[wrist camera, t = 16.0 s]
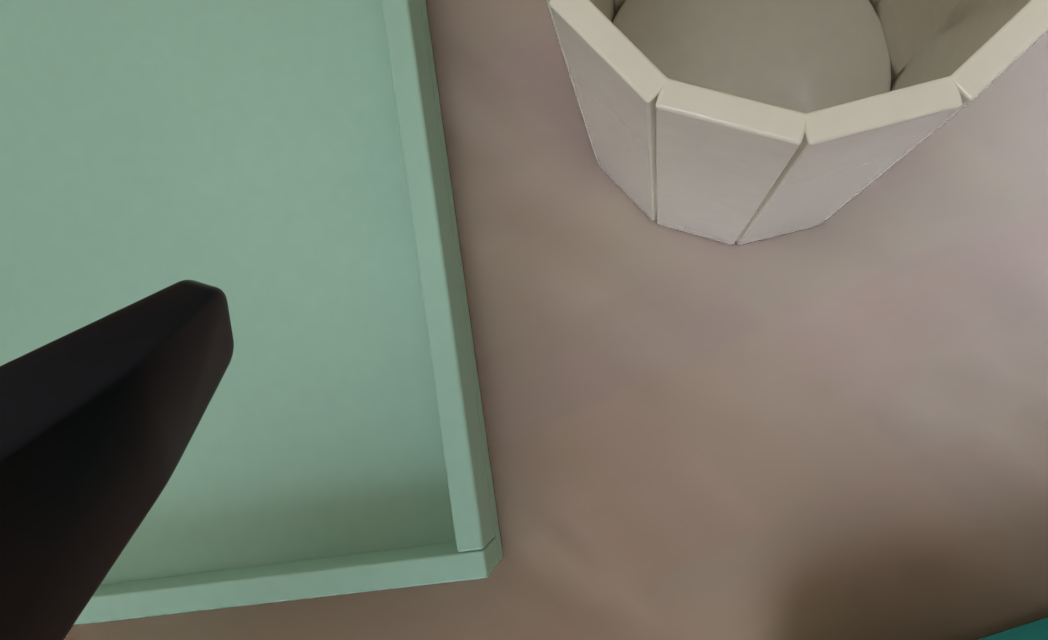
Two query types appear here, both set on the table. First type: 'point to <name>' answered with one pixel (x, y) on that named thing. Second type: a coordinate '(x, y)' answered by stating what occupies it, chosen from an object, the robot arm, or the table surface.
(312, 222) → the tray
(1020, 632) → the digital multimeter
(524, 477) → the table surface
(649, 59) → the cup
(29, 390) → the robot arm
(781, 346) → the table surface
